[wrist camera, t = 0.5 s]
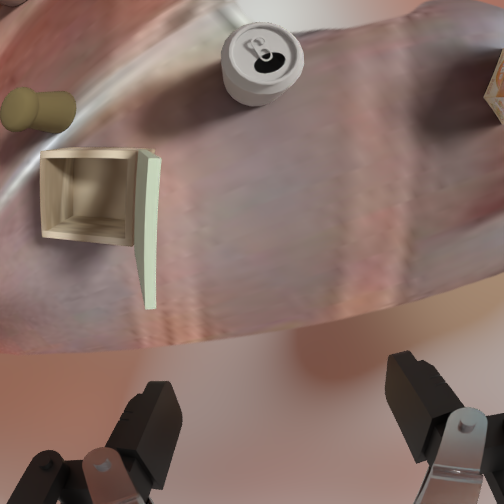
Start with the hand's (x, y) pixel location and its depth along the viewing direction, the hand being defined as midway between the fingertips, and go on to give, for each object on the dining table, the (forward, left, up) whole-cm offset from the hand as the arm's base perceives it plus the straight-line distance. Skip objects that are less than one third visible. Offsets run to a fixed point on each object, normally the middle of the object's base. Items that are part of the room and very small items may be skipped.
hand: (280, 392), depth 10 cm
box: (-18, +1, -30) cm, 35 cm away
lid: (-9, +1, -16) cm, 19 cm away
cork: (-27, +11, -30) cm, 42 cm away
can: (-1, +16, -30) cm, 35 cm away
